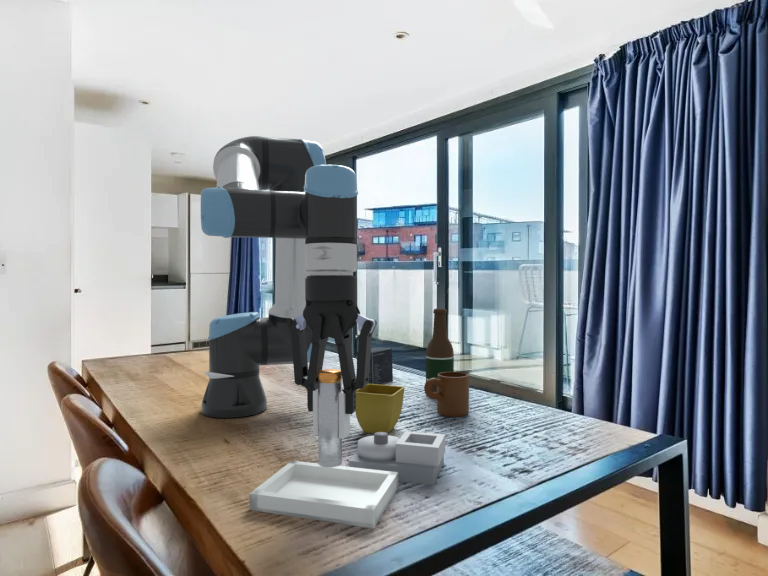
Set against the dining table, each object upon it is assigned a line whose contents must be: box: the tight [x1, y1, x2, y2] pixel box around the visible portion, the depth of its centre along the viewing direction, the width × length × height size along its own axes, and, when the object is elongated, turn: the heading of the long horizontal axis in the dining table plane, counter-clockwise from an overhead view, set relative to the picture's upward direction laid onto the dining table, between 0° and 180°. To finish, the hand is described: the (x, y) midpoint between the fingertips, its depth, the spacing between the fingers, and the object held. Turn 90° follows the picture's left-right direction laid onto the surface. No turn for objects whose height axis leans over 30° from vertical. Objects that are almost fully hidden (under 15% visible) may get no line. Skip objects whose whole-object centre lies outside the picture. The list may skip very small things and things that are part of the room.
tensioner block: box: [348, 430, 446, 486], centre depth 85 cm, size 14×10×6 cm
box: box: [355, 346, 394, 385], centre depth 154 cm, size 11×7×10 cm, turn 144°
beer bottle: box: [425, 308, 455, 392], centre depth 138 cm, size 8×8×24 cm
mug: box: [423, 371, 470, 418], centre depth 119 cm, size 12×8×9 cm, turn 121°
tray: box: [249, 460, 399, 529], centre depth 73 cm, size 18×13×2 cm
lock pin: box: [317, 368, 343, 468], centre depth 73 cm, size 3×3×13 cm
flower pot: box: [354, 384, 406, 434], centre depth 106 cm, size 9×9×9 cm
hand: (331, 434), depth 73 cm, fingers closed on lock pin, 3 cm apart
